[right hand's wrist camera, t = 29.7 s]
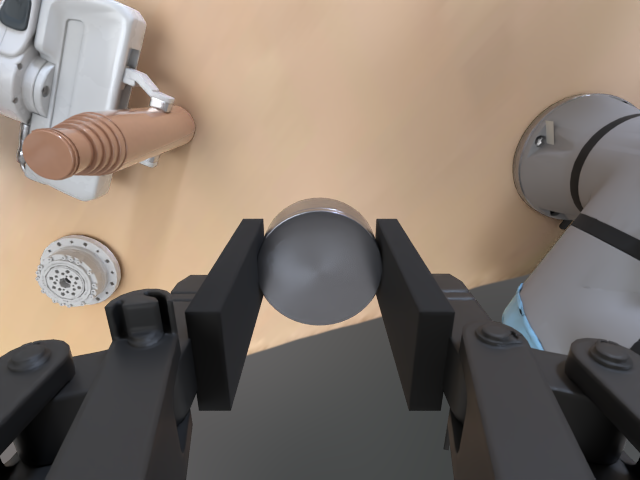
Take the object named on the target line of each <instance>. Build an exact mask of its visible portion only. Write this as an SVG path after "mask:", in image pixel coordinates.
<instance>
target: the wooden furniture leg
mask: <svg viewBox="0 0 640 480" xmlns="http://www.w3.org/2000/svg"><path fill="white" fill-rule="evenodd" d="M31 132H32V133H30V134H29V135H28V136H27V137H26V138H25V140H24V142H23V145H22V153H23V157H24V159H25V161H26V163H27V165H28V166H29V167H30V169H31V170H32V171H33V172H35V173H36V174H37V175H39V176H41V177H43V178H46V179H50V180H63V179H66V178H69V177H72V176H73V175H75V176H80V175H81V176H102V175H108V174H112V173H114V172H117V171H119V170H122V169H124V168H127V167H129V166H132V165H134V164H137V163H139V162H142V161H144V160H147V159H149V158H152V157H155V156H157V155H160V154H162V153H165V152H167V151H170V150H172V149H175V148H177V147H180V146H182V145H185V144H187V143H188V142H189V141H190V140H191V139H192V138H193V136H194V133H195V123H194V120H193V118H192V116H191V115H190V113H189V112H188V111H187V110H185V109H184V108H182V107H180V106H177V105H173V107H172V111H171V112H169V113H167V112H163V111H161V110H160V109H159V108H154V107H141V108H129V109H117V110H104V111H92V112H83V113H80V114H76V115H73V116H71V117H70V118H68V119H66V120H64V121H63V122H60V123H59V124H57V125H55V126H54V127H52V128H41V129H35V130H32V131H31Z"/></svg>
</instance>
